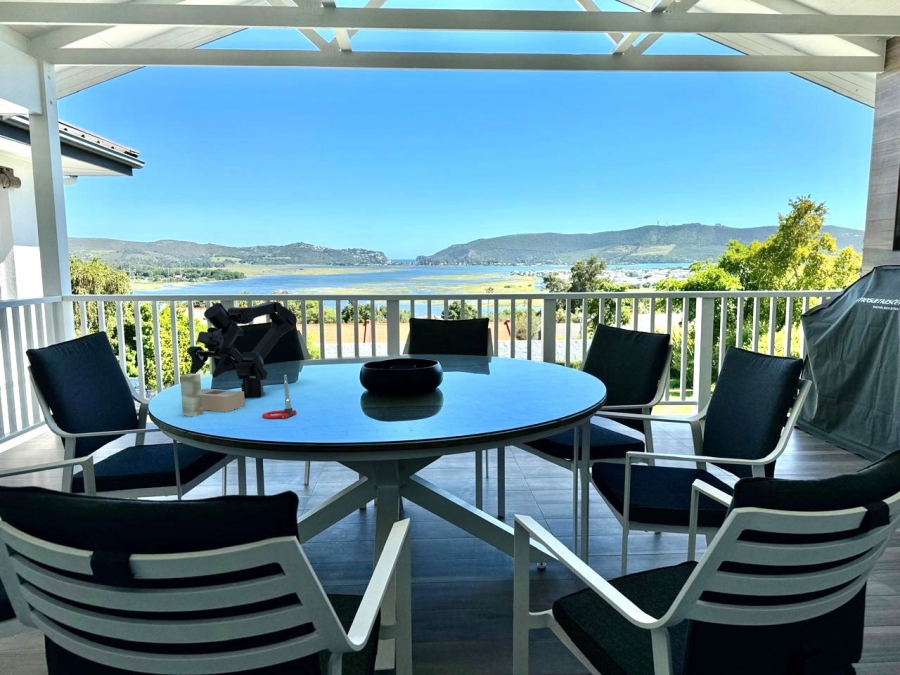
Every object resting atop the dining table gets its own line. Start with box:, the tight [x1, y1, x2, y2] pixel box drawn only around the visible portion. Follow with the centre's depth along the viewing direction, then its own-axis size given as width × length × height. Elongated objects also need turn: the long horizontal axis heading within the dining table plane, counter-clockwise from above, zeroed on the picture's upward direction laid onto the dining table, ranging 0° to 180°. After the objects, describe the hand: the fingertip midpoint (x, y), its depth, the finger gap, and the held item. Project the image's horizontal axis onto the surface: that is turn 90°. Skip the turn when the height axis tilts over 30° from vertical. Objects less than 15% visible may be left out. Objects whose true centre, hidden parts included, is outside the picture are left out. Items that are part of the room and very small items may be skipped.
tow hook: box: [261, 374, 298, 420], centre depth 177 cm, size 8×13×9 cm
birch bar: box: [179, 373, 204, 417], centre depth 180 cm, size 4×4×12 cm
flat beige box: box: [201, 388, 246, 413], centre depth 190 cm, size 8×16×5 cm, turn 68°
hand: (202, 376), depth 184 cm, fingers open, 9 cm apart
